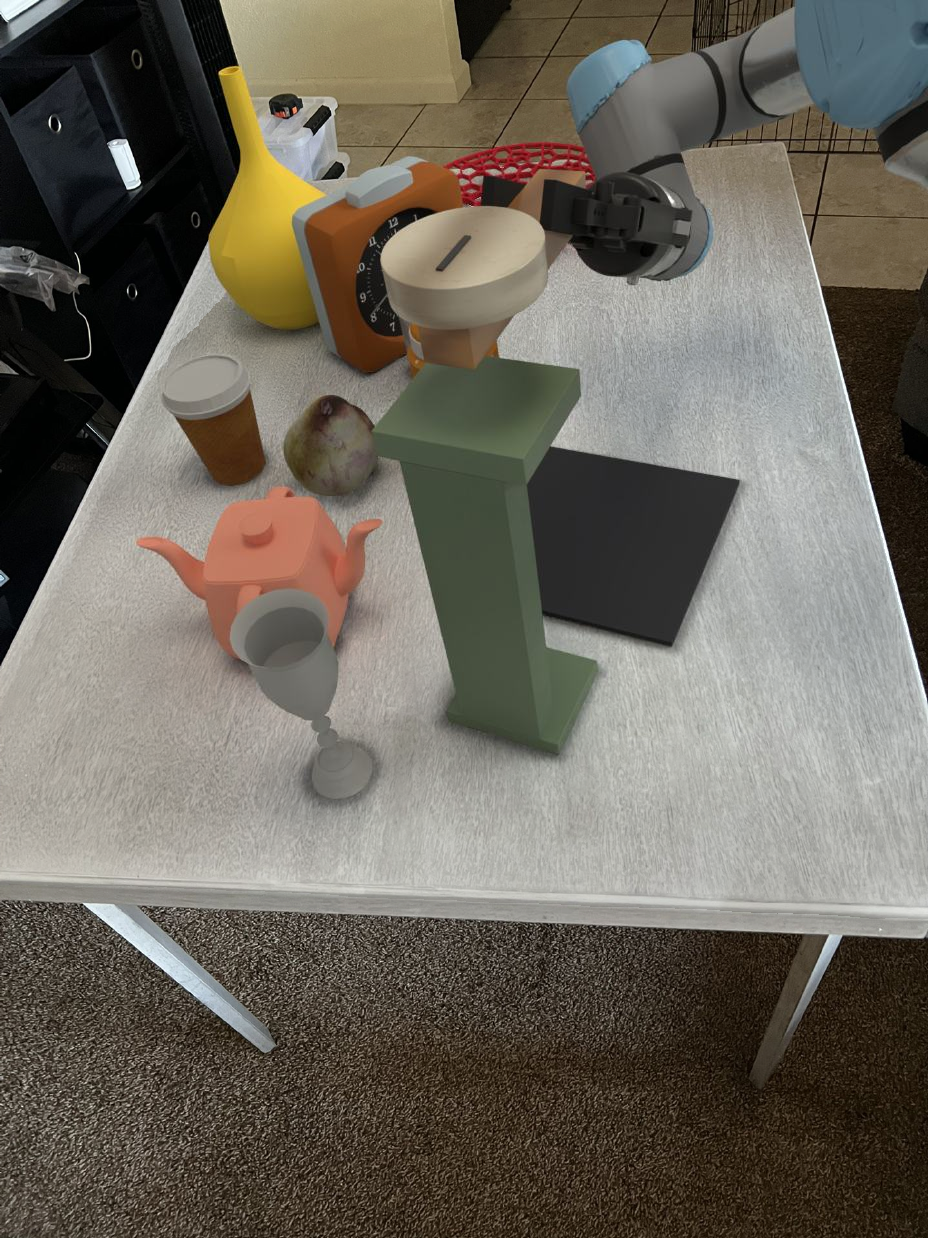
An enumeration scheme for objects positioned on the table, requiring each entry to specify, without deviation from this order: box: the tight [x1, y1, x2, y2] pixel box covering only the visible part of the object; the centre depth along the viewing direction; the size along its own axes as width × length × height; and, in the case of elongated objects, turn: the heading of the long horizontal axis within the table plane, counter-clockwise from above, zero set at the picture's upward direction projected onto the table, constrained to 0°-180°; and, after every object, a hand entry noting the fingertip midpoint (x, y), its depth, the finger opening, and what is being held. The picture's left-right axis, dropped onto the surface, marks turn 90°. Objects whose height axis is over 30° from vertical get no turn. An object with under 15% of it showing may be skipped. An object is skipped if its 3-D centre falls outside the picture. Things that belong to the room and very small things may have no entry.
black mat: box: [527, 445, 741, 648], centre depth 91 cm, size 22×22×1 cm
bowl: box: [442, 141, 596, 207], centre depth 135 cm, size 29×29×5 cm
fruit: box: [282, 394, 379, 498], centre depth 98 cm, size 10×9×12 cm
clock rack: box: [372, 356, 599, 756], centre depth 69 cm, size 10×9×30 cm
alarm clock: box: [292, 155, 464, 373], centre depth 113 cm, size 18×9×21 cm, turn 129°
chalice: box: [230, 589, 373, 800], centre depth 71 cm, size 7×7×18 cm
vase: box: [208, 65, 327, 331], centre depth 117 cm, size 18×18×30 cm
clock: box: [380, 169, 587, 370], centre depth 56 cm, size 9×19×6 cm, turn 155°
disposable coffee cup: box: [160, 352, 267, 486], centre depth 103 cm, size 10×10×12 cm
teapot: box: [135, 485, 383, 660], centre depth 85 cm, size 15×17×13 cm
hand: (517, 202), depth 56 cm, fingers closed on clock, 3 cm apart
